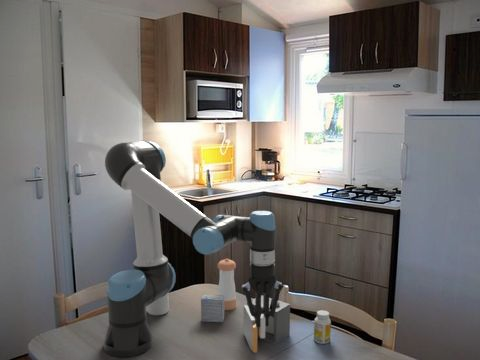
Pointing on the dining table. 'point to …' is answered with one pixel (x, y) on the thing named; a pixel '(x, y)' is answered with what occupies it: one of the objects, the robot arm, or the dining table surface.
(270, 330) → the grey cabinet
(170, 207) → the robot arm
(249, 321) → the side door
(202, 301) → the medicine box
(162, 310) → the pill bottle
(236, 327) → the dining table surface
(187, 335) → the dining table surface
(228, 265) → the pepper shaker
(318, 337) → the supplement bottle
